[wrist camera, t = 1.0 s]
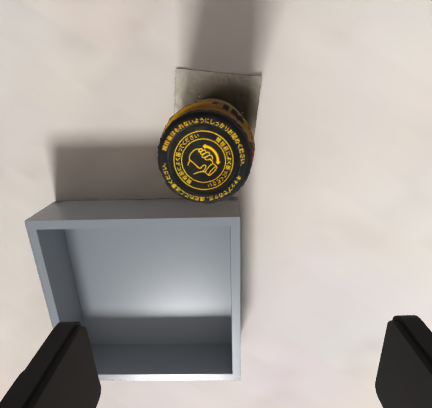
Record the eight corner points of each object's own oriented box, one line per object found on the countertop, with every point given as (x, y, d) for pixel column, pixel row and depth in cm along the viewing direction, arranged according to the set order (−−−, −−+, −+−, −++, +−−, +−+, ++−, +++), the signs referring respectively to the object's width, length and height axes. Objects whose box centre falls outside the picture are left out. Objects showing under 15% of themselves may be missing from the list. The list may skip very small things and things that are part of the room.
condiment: (172, 166, 29) (140, 213, 17) (176, 68, 26) (140, 49, 15) (249, 172, 29) (266, 224, 18) (261, 76, 26) (291, 63, 15)
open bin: (55, 201, 30) (24, 221, 25) (237, 197, 30) (240, 216, 25) (87, 343, 36) (66, 380, 32) (238, 342, 36) (240, 379, 31)
